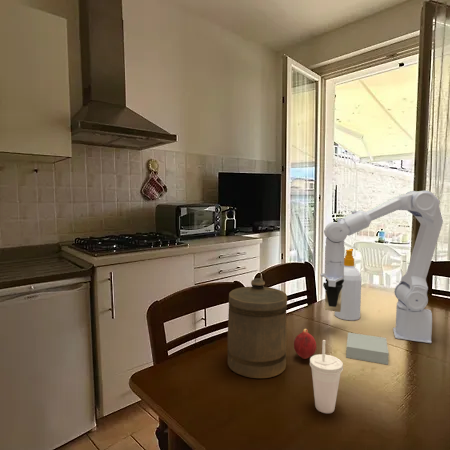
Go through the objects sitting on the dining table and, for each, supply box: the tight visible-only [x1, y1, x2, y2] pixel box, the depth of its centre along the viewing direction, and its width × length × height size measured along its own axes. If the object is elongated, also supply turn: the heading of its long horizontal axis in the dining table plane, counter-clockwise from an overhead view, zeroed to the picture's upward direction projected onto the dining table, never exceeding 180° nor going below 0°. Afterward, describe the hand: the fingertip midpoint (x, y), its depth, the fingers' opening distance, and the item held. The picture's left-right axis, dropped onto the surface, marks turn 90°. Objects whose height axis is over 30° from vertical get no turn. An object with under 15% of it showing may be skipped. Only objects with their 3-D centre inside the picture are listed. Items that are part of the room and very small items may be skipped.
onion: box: [293, 328, 318, 360], centre depth 88 cm, size 6×6×8 cm
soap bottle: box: [334, 248, 362, 321], centre depth 119 cm, size 9×9×24 cm
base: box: [345, 332, 389, 365], centre depth 91 cm, size 10×10×3 cm
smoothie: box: [309, 339, 344, 414], centre depth 67 cm, size 6×6×14 cm
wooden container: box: [227, 277, 288, 379], centre depth 85 cm, size 15×15×22 cm
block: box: [324, 289, 342, 312], centre depth 105 cm, size 4×4×6 cm
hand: (333, 303), depth 105 cm, fingers closed on block, 4 cm apart
